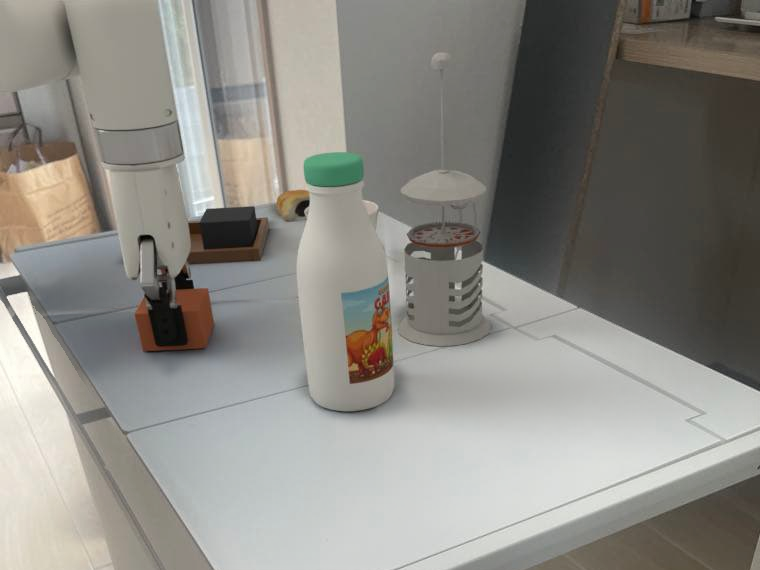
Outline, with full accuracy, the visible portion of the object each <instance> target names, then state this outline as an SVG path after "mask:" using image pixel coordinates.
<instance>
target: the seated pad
mask: <svg viewBox="0 0 760 570" xmlns="http://www.w3.org/2000/svg"><path fill="white" fill-rule="evenodd" d="M256 218H257V215H256V207H255V206H254V205H251V206H249V205H248V206H233V207H213V208H205V211H204V212H203V215H202V216H201V219H200V220H199V221H200V222H199V225H200V230H201V236H202V242H203V247H204V250H205V249H224V248H243V247H253V245H254V242H255V239H256V236H257V232H258V228H257V220H256Z"/></svg>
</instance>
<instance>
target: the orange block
mask: <svg viewBox="0 0 760 570" xmlns="http://www.w3.org/2000/svg"><path fill="white" fill-rule="evenodd" d="M166 291H167V293H168V290H166ZM176 296H177V305H181V307H182V312H183V317H184V322H185V327H186V332H187V337H188V342H187V344H186V345H184V346H166V347H158V346H157V345H156V344H155V340H154V336H153V331H152V327H151V322H150V318H149V314H148V309H147V306H146V298H145V297H144V296H143V298H142V299H141V301H140V303H139V305H138V307H137V309H136V311H135V312H134V313H133V314H134V319H135V323H136V328H137V331H138V335H139V336H138V337H139V341H140V344H141V348H142V351H143V352H156V351H157V352H159V351H178V350H199V349H206V348H207V347H208V344H209V340H210V338H211V334H212V331H213V328H214V326H215V320H214V319H215V318H214V313H213V309H212V302H211V297H210V292H209V288H208V287H203V288H202V287H200V288H194V289H179V290H176Z"/></svg>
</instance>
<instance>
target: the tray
mask: <svg viewBox="0 0 760 570" xmlns="http://www.w3.org/2000/svg"><path fill="white" fill-rule="evenodd" d="M256 220H257V228H258V232H257V236H256V239H255V242H254V245H253V247H243V248H224V249H205V250H204V247H203V242H202V236H201V230H200V225H199V222H200V220H194V221H193V220H191V221H188V226H189V232H190V241H191V249H190V253H189V255H188V257H187V260H188V263H189V266H191V265H206V264H207V265H208V264H209V265H210V264H227V263H244V262H260V261H261V260H262V256H263V252H264V249H265V245H266V241H267V240H268V239H267V238H268V235H269V231H270V225H269V217H256Z"/></svg>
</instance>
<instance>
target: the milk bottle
mask: <svg viewBox="0 0 760 570" xmlns="http://www.w3.org/2000/svg"><path fill="white" fill-rule="evenodd" d="M364 171H365V170H364V160H363V158H362V156H361V155H359V154H357V153H352V152H343V151H334V152H332V151H331V152H323V153H317V154H314V155H310V156H308V157H306V158H305V159H304V160H303V176H304V180H305V190H307V191H309V195H310V205H309V212H308V218H307V220H306V221H305V222H306V223H305V226H304V229H303V231H302V235H301V238H300V241H299V246H298V251H297V256H296V284H297V285H296V286H297V298H298V303H299V304H298V305H299V306H298V307H299V313H300V314H299V315H300V324H301V332H302V333H301V334H302V342H303V350H304V358H305V366H306V375H307V383H308V389H309V390H308V392H309V395H310V397H311V398H312V400H313V402H314V403H316V404H317V405H318V406H320V407H322V408H324V409H328V410H331V411H336V412H358V411H364V410H368V409H372V408H375V407H378V406H380V405H382V404H384V403H385V402H387V401H388V400H389V399H390V398H391V396H392V394H393V392H394V390H395V370H394V368H395V367H394V349H393V347H394V346H393V328H392V312H391V310H392V309H391V292H390V282H389V281H390V280H389V269H388V263H387V256H386V253H385V250H384V247H383V244H382V241H381V239H380V237H379V235H378V233H377V230H376V231H375V229H374V227H373V225H372V223H371V221H370V218H369V216H368V214H367V211H366V208H365V205H364V202H363V200H364V197H363V188H364V187H365V182H364V176H365V174H364V173H365V172H364Z"/></svg>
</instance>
